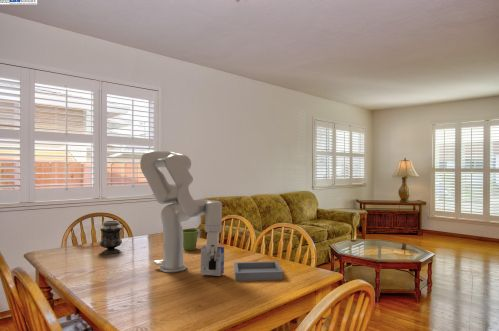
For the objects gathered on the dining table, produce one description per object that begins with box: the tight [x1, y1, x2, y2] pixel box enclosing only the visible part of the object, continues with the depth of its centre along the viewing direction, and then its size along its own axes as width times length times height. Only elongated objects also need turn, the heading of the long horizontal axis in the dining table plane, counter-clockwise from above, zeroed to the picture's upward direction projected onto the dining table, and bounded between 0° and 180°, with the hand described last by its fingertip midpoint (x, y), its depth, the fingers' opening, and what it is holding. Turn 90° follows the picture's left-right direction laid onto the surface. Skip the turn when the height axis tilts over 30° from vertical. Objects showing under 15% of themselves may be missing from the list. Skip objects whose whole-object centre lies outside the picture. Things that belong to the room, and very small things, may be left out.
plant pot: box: [182, 228, 200, 251], centre depth 201 cm, size 12×12×11 cm
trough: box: [233, 260, 284, 282], centre depth 154 cm, size 21×16×4 cm
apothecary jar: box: [99, 220, 123, 255], centre depth 195 cm, size 12×12×18 cm
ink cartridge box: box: [200, 245, 225, 277], centre depth 153 cm, size 10×6×14 cm, turn 79°
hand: (212, 266), depth 153 cm, fingers closed on ink cartridge box, 6 cm apart
